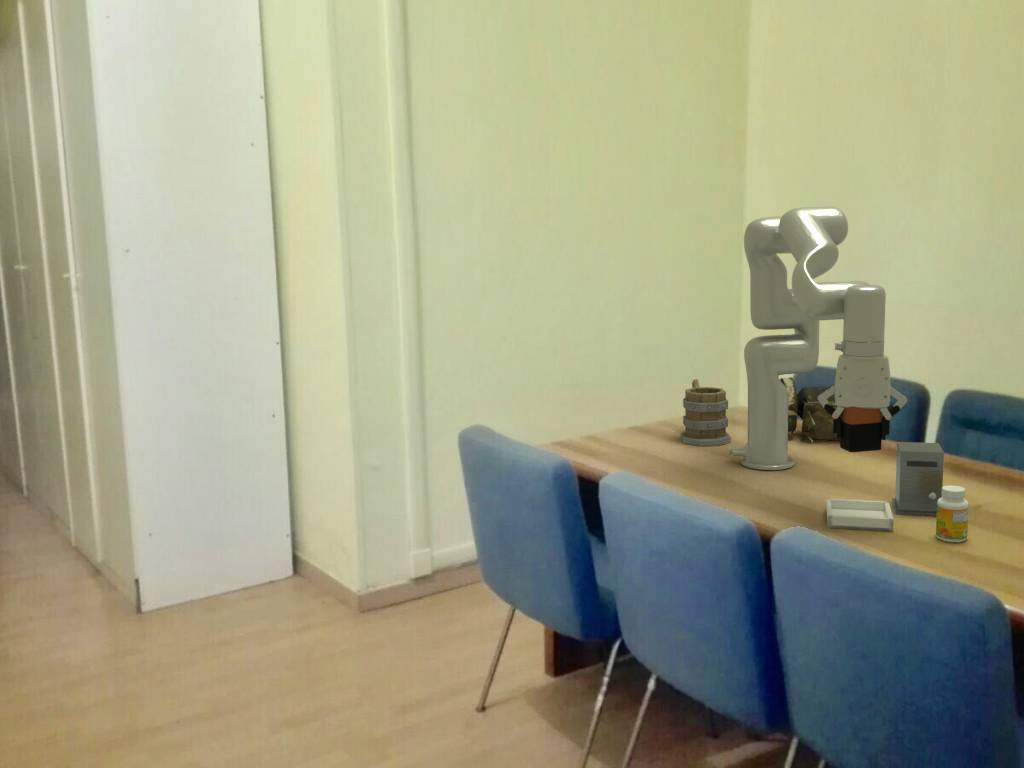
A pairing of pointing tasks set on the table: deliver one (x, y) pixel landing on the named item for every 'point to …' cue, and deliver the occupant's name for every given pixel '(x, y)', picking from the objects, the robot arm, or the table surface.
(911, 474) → the control box
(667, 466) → the table surface
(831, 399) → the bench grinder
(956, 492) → the supplement bottle
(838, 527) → the tray
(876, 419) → the battery
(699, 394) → the tankard
